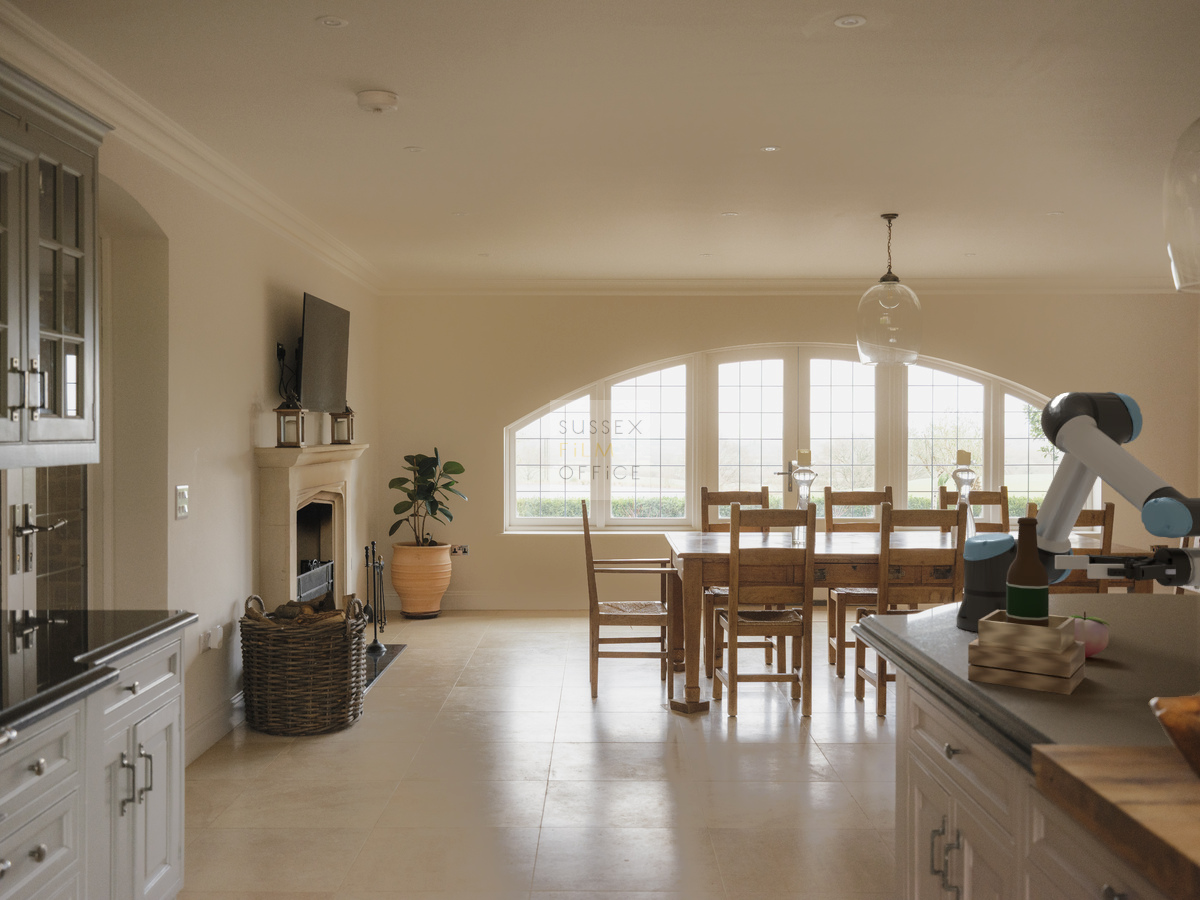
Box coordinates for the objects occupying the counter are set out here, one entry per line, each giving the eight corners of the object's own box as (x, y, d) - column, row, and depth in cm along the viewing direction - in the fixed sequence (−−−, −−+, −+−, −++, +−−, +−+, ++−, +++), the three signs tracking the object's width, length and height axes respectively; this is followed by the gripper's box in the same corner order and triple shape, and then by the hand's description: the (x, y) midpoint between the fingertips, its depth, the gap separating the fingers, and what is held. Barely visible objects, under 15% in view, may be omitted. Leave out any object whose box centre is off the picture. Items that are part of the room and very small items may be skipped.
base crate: (968, 679, 180) (968, 644, 179) (989, 664, 192) (989, 630, 192) (1069, 694, 169) (1069, 656, 169) (1084, 677, 181) (1084, 642, 181)
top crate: (978, 644, 179) (978, 620, 179) (997, 632, 191) (997, 609, 191) (1060, 654, 170) (1060, 629, 170) (1074, 641, 182) (1074, 617, 182)
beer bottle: (1011, 633, 186) (1012, 515, 186) (1053, 638, 181) (1053, 517, 181) (1000, 639, 180) (1001, 517, 180) (1043, 645, 175) (1043, 520, 175)
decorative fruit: (1110, 656, 200) (1110, 610, 200) (1109, 663, 193) (1109, 616, 193) (1062, 651, 204) (1062, 606, 204) (1059, 658, 197) (1059, 612, 197)
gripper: (1222, 596, 167) (1103, 595, 168) (1146, 577, 192) (1043, 576, 193) (1222, 555, 167) (1103, 555, 168) (1146, 541, 192) (1043, 541, 193)
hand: (1071, 566), depth 180 cm, fingers open, 13 cm apart
